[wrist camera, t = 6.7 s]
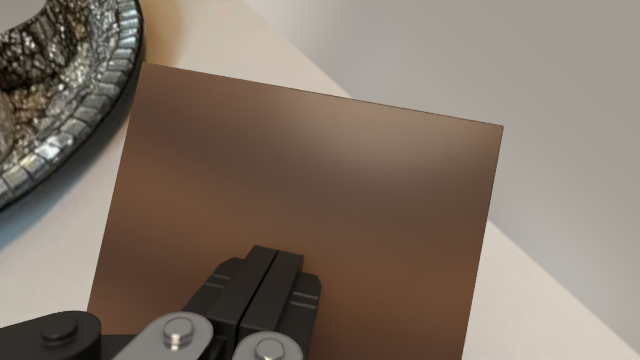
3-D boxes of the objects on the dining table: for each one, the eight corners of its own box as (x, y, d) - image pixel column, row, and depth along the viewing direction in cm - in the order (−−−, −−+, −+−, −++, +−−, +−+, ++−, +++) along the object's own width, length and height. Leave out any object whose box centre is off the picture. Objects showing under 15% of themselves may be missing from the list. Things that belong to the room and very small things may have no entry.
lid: (154, 69, 13) (142, 61, 12) (493, 130, 12) (504, 125, 11) (60, 492, 12) (40, 513, 11) (409, 594, 11) (413, 624, 10)
